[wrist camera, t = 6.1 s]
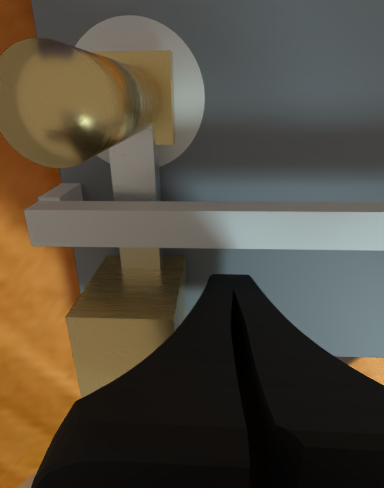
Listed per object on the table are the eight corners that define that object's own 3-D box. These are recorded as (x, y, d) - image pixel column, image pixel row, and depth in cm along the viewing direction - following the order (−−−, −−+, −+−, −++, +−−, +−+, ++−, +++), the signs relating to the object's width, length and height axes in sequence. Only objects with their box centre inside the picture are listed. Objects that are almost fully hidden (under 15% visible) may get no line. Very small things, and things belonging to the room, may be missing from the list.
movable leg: (180, 52, 9) (139, 5, 4) (186, 322, 12) (168, 469, 7) (81, 55, 9) (-72, 11, 4) (114, 320, 12) (52, 463, 8)
